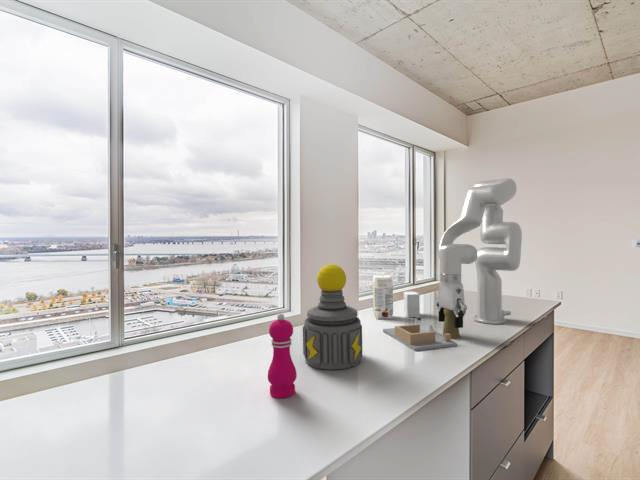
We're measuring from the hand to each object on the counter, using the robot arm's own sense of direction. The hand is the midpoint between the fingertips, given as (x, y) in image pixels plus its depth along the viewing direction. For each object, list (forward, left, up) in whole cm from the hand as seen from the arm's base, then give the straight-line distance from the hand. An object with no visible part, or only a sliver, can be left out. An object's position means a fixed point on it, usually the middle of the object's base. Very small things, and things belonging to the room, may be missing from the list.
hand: (450, 324), depth 135 cm
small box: (-3, -34, -5) cm, 35 cm away
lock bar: (+6, -8, -4) cm, 11 cm away
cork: (0, 0, -5) cm, 5 cm away
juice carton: (+11, -35, -5) cm, 37 cm away
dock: (+13, -2, -5) cm, 13 cm away
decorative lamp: (+49, +9, -5) cm, 50 cm away
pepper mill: (+68, +27, -5) cm, 73 cm away
